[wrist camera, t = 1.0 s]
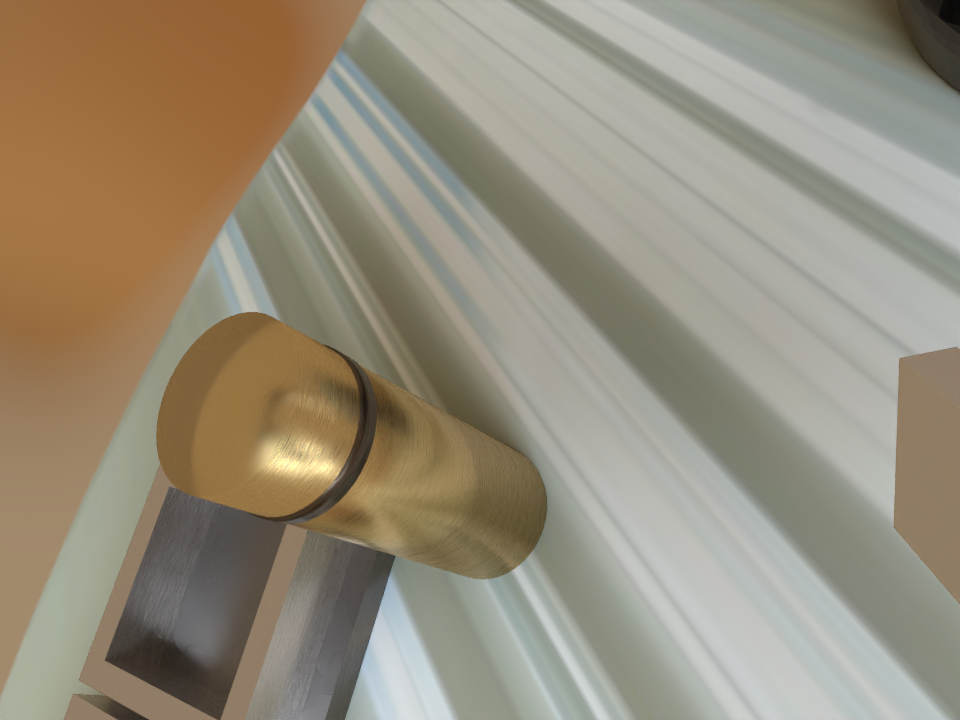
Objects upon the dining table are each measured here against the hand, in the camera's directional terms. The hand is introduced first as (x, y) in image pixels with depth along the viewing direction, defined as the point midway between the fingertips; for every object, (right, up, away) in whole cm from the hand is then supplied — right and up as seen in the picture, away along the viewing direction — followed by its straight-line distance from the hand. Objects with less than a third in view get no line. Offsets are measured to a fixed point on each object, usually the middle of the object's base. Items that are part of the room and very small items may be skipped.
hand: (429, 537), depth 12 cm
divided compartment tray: (-9, -11, +21) cm, 25 cm away
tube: (+1, -3, +18) cm, 18 cm away
